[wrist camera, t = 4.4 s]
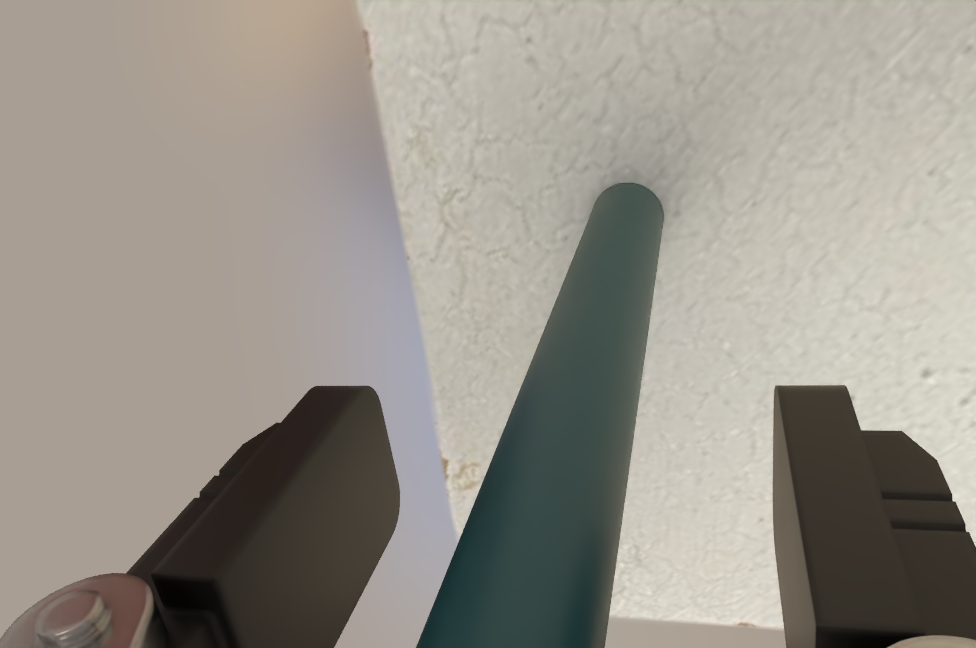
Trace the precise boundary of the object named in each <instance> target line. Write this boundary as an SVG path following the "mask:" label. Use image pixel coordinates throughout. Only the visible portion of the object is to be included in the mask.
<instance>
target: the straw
mask: <svg viewBox="0 0 976 648" xmlns="http://www.w3.org/2000/svg"><path fill="white" fill-rule="evenodd" d="M663 221H664V214H663V208H662V205H661V203H660V201H659V199H658V198H657V197H656V195H655V194H654V193H653V192H652V191H650V190H649V189H647V188H645V187H644V186H641V185H638V184H633V183H623V184H618V185H615V186H612V187H610V188H609V189H607V190H606V191H604V192H603V193H602V194H601V195H600V197H599V198H598V199H597V201H596V203H595V205H594V208H593V210H592V213H591V215H590V218H589V220H588V223H587V225H586V227H585V230H584V232H583V235H582V237H581V240H580V242H579V245H578V247H577V250H576V252H575V255H574V257H573V260H572V262H571V265H570V267H569V270H568V272H567V275H566V277H565V280H564V282H563V285H562V287H561V289H560V292H559V294H558V297H557V299H556V302H555V304H554V307H553V309H552V312H551V314H550V317H549V319H548V322H547V324H546V327H545V329H544V332H543V334H542V337H541V339H540V342H539V344H538V347H537V349H536V352H535V354H534V356H533V359H532V361H531V364H530V366H529V369H528V371H527V374H526V376H525V379H524V381H523V384H522V386H521V389H520V391H519V394H518V396H517V399H516V401H515V404H514V406H513V409H512V411H511V414H510V416H509V419H508V421H507V423H506V426H505V428H504V431H503V433H502V436H501V438H500V441H499V443H498V446H497V448H496V451H495V453H494V456H493V458H492V461H491V463H490V466H489V468H488V471H487V473H486V476H485V478H484V481H483V483H482V486H481V488H480V490H479V493H478V495H477V498H476V500H475V503H474V505H473V508H472V510H471V513H470V515H469V518H468V520H467V523H466V525H465V528H464V530H463V533H462V535H461V538H460V540H459V543H458V545H457V548H456V550H455V553H454V555H453V557H452V560H451V563H450V565H449V567H448V570H447V572H446V575H445V577H444V580H443V582H442V585H441V588H440V590H439V592H438V595H437V597H436V600H435V602H434V605H433V607H432V610H431V612H430V615H429V617H428V619H427V622H426V624H425V627H424V630H423V632H422V634H421V637H420V639H419V642H418V644H417V647H416V648H604V647H605V640H606V633H607V626H608V619H609V611H610V604H611V597H612V590H613V582H614V575H615V568H616V561H617V553H618V546H619V539H620V532H621V524H622V517H623V510H624V503H625V496H626V488H627V481H628V474H629V467H630V459H631V452H632V445H633V438H634V430H635V423H636V416H637V409H638V402H639V394H640V387H641V380H642V373H643V365H644V358H645V351H646V344H647V336H648V329H649V322H650V315H651V307H652V300H653V293H654V286H655V279H656V271H657V264H658V257H659V250H660V242H661V235H662V228H663Z"/></svg>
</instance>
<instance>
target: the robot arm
mask: <svg viewBox="0 0 976 648" xmlns="http://www.w3.org/2000/svg"><path fill="white" fill-rule="evenodd" d="M219 472H220V474H219V476H214V477H213V478H212V479H211V480H210V482H208V484H207V485H206V486H205V487H204V488H203V489H202V490H201V491H200V497H199V498H194V499H193V500H192V501H191V502H190V503H189V505H188V506H187V507H186V508H185V509H184V510H183V511H182V512H181V513H180V515H179V516H178V517H177V518H176V519H175V520H174V521H173V522H172V523H171V524H170V525H169V527H168V528H167V529H166V530H165V531H164V532H163V533H162V534H161V535H160V537H159V538H158V539H157V540H156V541H155V542H154V543H153V544H152V545H151V546H150V548H149V549H148V550H147V551H146V552H145V553H144V554H143V555H142V556H141V558H140V559H139V560H138V561H137V562H136V563H135V564H134V565H133V566H132V567H131V569H130V570H129V571H128V572H127V573H126V574H123V573H111V574H103V575H98V576H93V577H90V578H86V579H83V580H80V581H77V582H74V583H72V584H70V585H67V586H65V587H63V588H61V589H59V590H57V591H55V592H53V593H51V594H49V595H48V596H47V597H45V598H43V599H42V600H40V601H38V602H37V603H36V604H34V605H33V606H32V607H30V608H29V609H28V610H26V611H25V612H24V613H23V614H22V615H21V616H20V617H18V618H17V619H16V620H15V621H14V622H13V624H12V625H11V626H10V627H9V628H8V629H7V630H6V632H5V633H4V634H3V636H2V637H1V639H0V648H334V647H335V645H336V643H337V641H338V639H339V637H340V635H341V633H342V631H343V629H344V627H345V625H346V624H347V622H348V620H349V618H350V616H351V614H352V612H353V610H354V608H355V606H356V604H357V602H358V600H359V598H360V596H361V595H362V593H363V591H364V589H365V587H366V585H367V583H368V581H369V579H370V577H371V575H372V573H373V571H374V570H375V568H376V566H377V564H378V561H379V560H380V558H381V556H382V554H383V552H384V550H385V548H386V546H387V544H388V543H389V541H390V539H391V537H392V535H393V532H394V530H395V527H396V524H397V520H398V515H399V507H400V490H399V483H398V478H397V474H396V469H395V465H394V460H393V456H392V452H391V447H390V443H389V438H388V434H387V429H386V425H385V421H384V416H383V412H382V408H381V403H380V400H379V397H378V395H377V393H376V392H375V390H374V389H373V388H372V387H370V386H315V387H313V388H311V389H310V390H309V391H308V392H307V393H306V395H305V396H304V397H303V398H302V399H301V400H300V401H299V402H298V404H297V405H296V406H295V407H294V409H292V411H291V412H290V413H289V414H288V415H287V416H286V417H285V419H284V420H283V421H282V422H281V423H276V424H274V425H273V426H271V427H269V428H268V429H266V430H265V431H263V432H262V433H260V434H258V435H257V436H256V437H254V438H252V439H251V440H249V441H248V442H246V443H245V444H243V445H242V446H241V447H240V448H239V449H238V450H237V452H236V453H235V454H234V455H233V456H232V457H231V458H230V459H229V461H227V463H226V464H225V465H224V466H223V467H222V468H221V469H220V471H219ZM773 526H774V542H775V554H776V562H777V571H778V579H779V588H780V596H781V605H782V613H783V622H784V630H785V638H786V647H787V648H976V547H975V545H974V543H973V540H972V538H971V536H970V534H969V532H966V529H965V522H964V520H963V518H962V516H961V513H960V511H959V509H958V507H957V505H956V502H953V501H952V493H951V491H950V489H949V487H948V484H947V482H946V480H945V478H944V475H943V473H942V471H941V469H940V466H939V464H938V462H937V460H936V459H935V458H934V457H932V456H931V455H930V454H929V453H928V452H926V451H925V450H924V449H923V448H922V447H920V446H919V445H918V444H917V443H916V442H914V441H913V440H912V439H911V438H910V437H908V436H907V435H906V434H905V433H904V432H902V431H861V429H860V426H859V423H858V420H857V417H856V414H855V411H854V407H853V404H852V401H851V398H850V395H849V392H848V389H847V387H846V386H845V385H819V386H775V391H774V427H773Z"/></svg>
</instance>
